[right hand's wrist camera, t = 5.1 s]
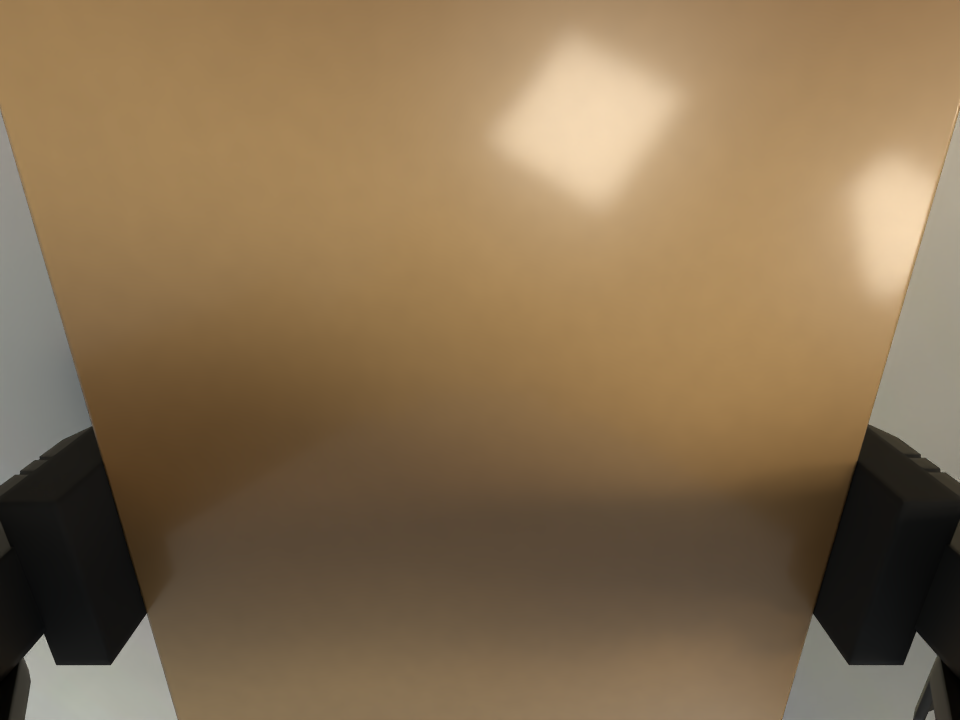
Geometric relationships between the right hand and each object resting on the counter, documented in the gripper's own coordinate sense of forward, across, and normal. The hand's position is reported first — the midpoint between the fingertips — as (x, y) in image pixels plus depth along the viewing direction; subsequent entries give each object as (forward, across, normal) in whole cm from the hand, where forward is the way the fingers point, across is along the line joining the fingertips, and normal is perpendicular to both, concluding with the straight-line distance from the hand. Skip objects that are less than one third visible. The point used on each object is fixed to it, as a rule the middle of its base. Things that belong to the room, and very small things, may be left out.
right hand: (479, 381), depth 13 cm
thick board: (+1, 0, -26) cm, 26 cm away
